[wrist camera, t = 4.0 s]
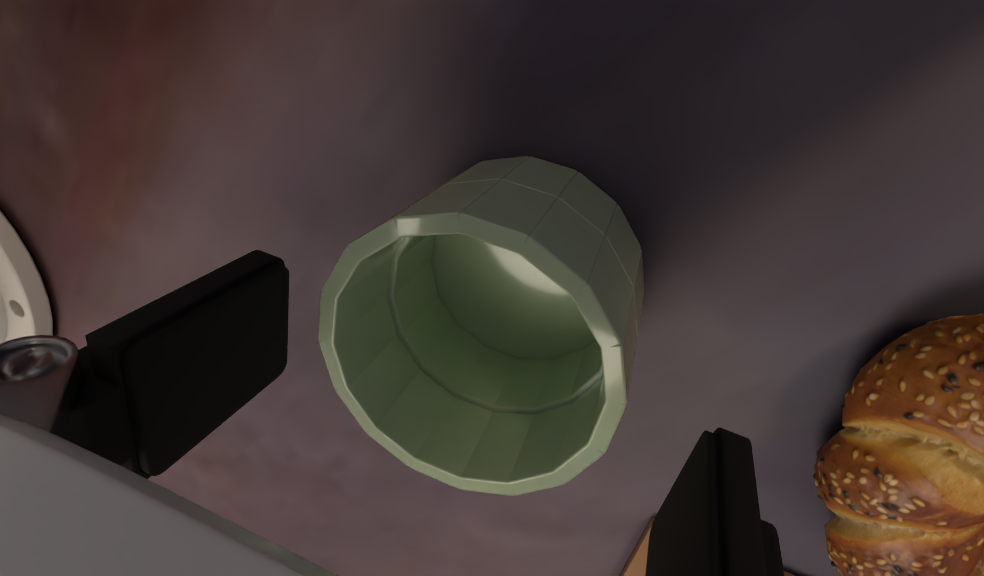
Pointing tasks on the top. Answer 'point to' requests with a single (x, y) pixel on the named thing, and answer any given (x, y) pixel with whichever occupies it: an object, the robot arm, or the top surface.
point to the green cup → (490, 327)
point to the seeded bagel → (911, 458)
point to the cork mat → (645, 556)
